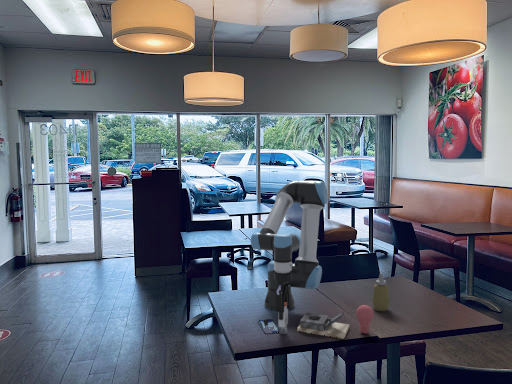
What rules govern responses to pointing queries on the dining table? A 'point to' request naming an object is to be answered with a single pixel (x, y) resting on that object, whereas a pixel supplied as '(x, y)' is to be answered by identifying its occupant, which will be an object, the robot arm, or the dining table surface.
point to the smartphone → (268, 322)
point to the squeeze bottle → (380, 294)
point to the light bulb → (364, 317)
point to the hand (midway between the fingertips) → (283, 324)
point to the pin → (284, 329)
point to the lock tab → (335, 319)
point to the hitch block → (322, 326)
